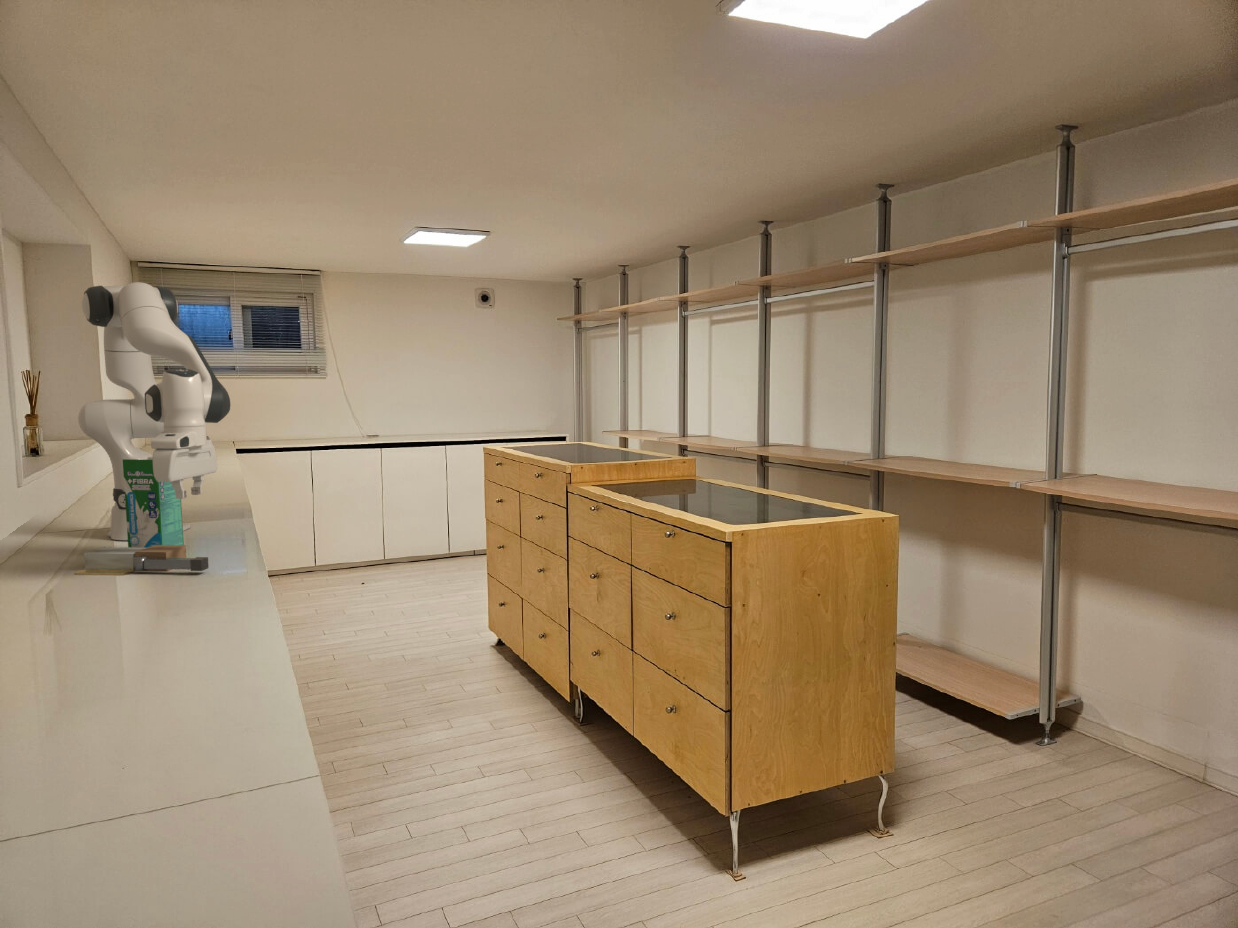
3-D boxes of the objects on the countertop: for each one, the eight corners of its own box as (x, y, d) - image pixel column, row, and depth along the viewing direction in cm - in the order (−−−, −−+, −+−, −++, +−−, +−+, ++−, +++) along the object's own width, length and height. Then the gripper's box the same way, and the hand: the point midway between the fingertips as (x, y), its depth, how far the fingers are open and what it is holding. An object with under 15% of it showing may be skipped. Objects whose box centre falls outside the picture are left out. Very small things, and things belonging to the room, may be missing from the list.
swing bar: (130, 570, 190) (129, 558, 190) (138, 567, 193) (137, 555, 193) (201, 571, 189) (200, 559, 189) (208, 568, 192) (208, 556, 192)
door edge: (108, 562, 203) (107, 544, 202) (186, 563, 202) (185, 545, 201) (85, 569, 195) (84, 551, 194) (166, 571, 194) (165, 552, 193)
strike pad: (86, 570, 195) (86, 568, 195) (135, 570, 194) (135, 569, 194) (74, 574, 191) (74, 572, 191) (124, 575, 190) (124, 573, 190)
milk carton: (184, 550, 216) (178, 455, 214) (162, 558, 207) (156, 459, 205) (152, 549, 217) (146, 455, 215) (128, 557, 208) (122, 458, 206)
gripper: (198, 435, 205) (201, 490, 206) (145, 441, 184) (149, 502, 186) (222, 435, 204) (225, 490, 206) (172, 441, 184) (176, 503, 185)
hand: (189, 496), depth 196 cm, fingers open, 5 cm apart
